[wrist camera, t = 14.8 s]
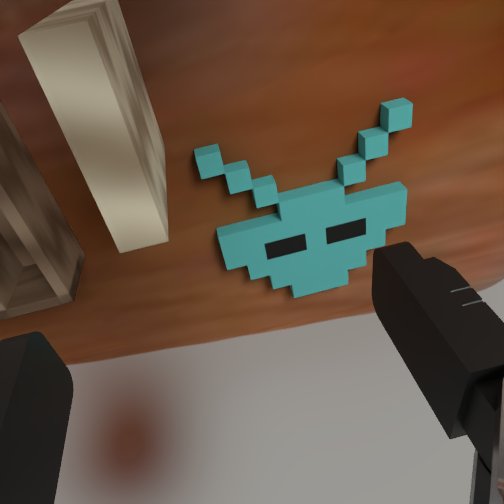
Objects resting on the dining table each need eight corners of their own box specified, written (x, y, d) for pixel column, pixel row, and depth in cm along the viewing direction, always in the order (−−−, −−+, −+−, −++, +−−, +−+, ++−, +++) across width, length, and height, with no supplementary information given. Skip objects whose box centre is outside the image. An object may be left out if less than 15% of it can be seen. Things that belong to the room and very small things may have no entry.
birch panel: (73, -1, 29) (17, 35, 18) (114, -10, 30) (86, 20, 18) (131, 154, 37) (119, 253, 25) (164, 146, 37) (168, 241, 25)
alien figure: (193, 147, 38) (236, 299, 50) (195, 157, 36) (239, 312, 48) (401, 96, 39) (393, 258, 51) (412, 103, 37) (402, 269, 49)
